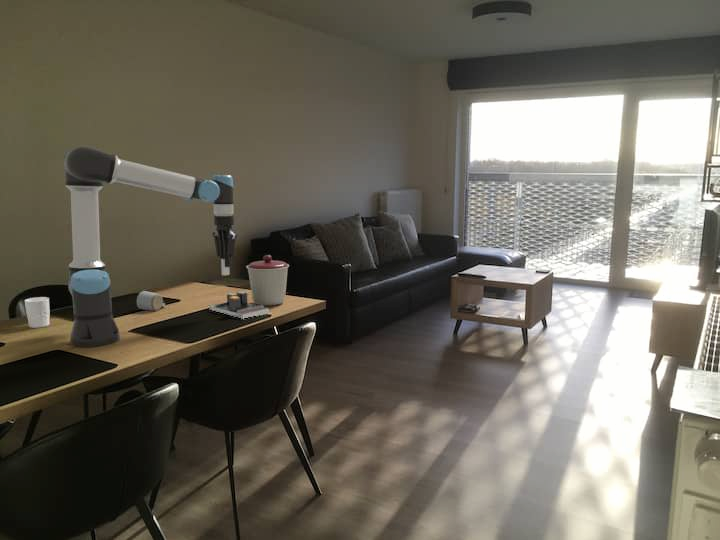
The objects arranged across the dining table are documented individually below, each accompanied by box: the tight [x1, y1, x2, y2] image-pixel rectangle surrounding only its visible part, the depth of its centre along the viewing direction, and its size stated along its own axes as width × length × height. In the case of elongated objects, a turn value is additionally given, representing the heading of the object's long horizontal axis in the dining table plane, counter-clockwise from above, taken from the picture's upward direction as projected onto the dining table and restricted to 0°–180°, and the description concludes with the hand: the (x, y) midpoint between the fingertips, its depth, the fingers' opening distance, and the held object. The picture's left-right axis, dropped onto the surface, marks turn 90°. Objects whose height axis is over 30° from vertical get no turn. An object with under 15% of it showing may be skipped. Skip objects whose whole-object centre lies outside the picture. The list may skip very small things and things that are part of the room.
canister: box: [245, 254, 290, 307], centre depth 243 cm, size 18×18×21 cm
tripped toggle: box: [229, 296, 241, 311], centre depth 223 cm, size 3×4×5 cm, turn 48°
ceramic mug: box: [136, 290, 166, 312], centre depth 235 cm, size 11×8×8 cm
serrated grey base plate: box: [209, 290, 270, 320], centre depth 229 cm, size 13×22×7 cm, turn 48°
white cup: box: [24, 296, 51, 329], centre depth 211 cm, size 8×8×10 cm
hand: (225, 274), depth 224 cm, fingers closed
